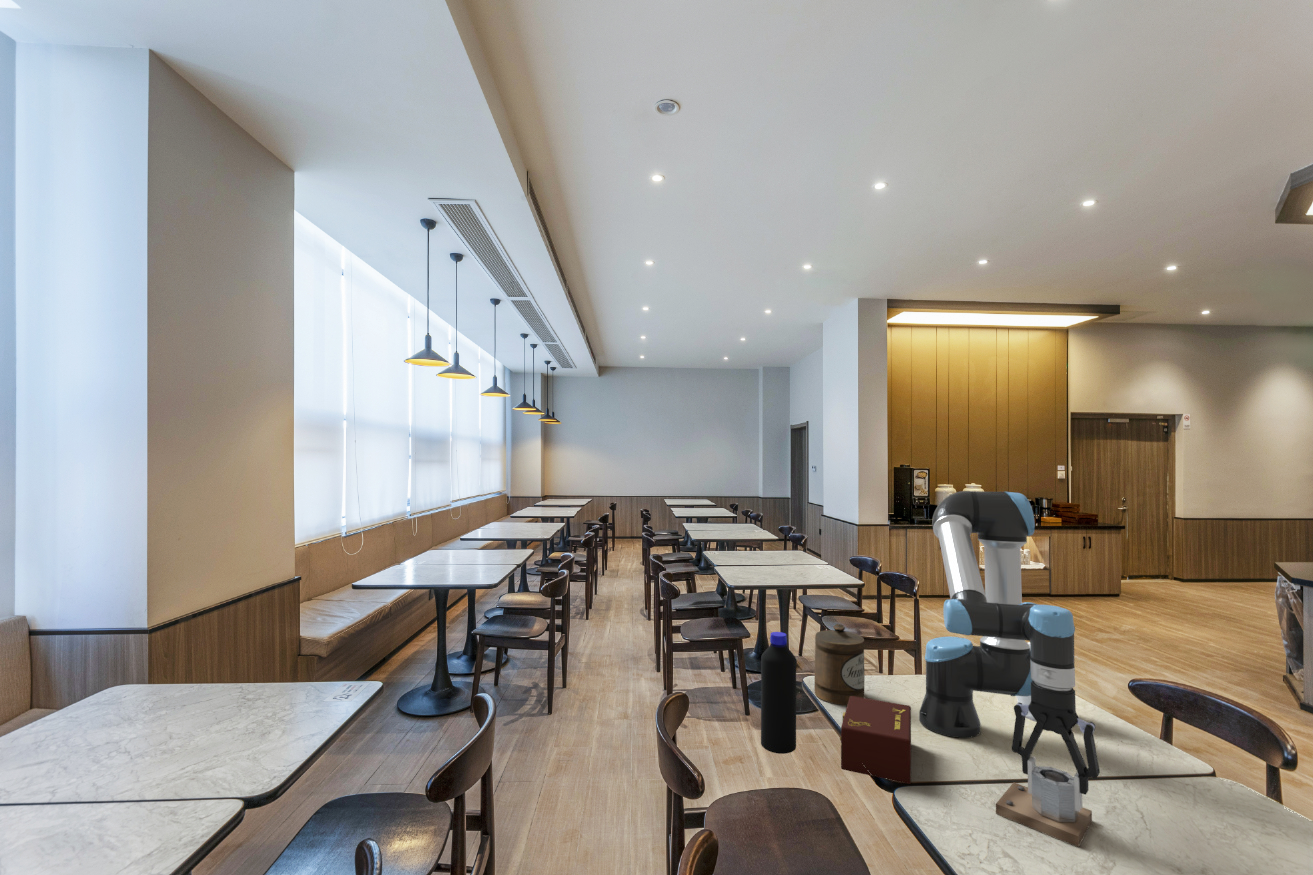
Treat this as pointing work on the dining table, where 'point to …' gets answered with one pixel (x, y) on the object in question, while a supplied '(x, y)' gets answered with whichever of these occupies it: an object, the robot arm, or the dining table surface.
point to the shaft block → (1020, 810)
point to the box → (877, 739)
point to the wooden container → (839, 665)
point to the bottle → (778, 696)
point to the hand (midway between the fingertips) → (1054, 799)
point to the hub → (1053, 795)
